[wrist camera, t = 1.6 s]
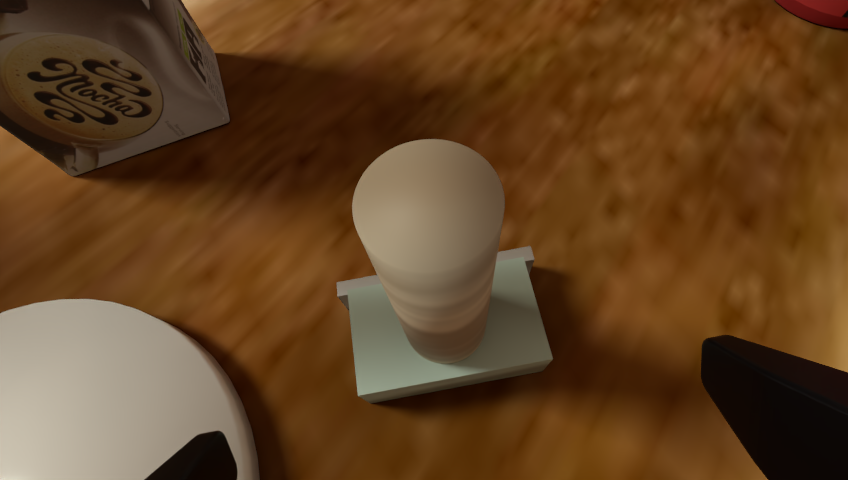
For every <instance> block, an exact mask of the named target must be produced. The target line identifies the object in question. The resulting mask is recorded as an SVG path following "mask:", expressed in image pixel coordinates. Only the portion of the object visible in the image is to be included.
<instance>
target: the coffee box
mask: <svg viewBox="0 0 848 480" xmlns="http://www.w3.org/2000/svg"><path fill="white" fill-rule="evenodd" d="M229 121H230V118H229V113H228V108H227V104H226V100H225V94H224V90H223V85H222V81H221V76H220V72H219V67H218V63H217V59H216V55H215V53H214V51H213V50H212V48H211V47H210V45H209V44H208V42H207V41H206V39H205V37H204V36H203V34H202V33H201V31H200V30H199V28H198V27H197V25H196V23H195V22H194V20H193V19H192V17H191V16H190V14H189V12H188V11H187V9H186V8H185V6H184V4H183V3H182V1H181V0H0V126H1V127H3V128H4V129H5V130H7V131H8V132H10V133H11V134H13V135H14V136H15V137H17V138H18V139H20V140H21V141H23V142H24V143H26V144H27V145H28V146H30V147H31V148H33V149H34V150H35V151H37V152H38V153H40V154H41V155H43V156H44V157H46V158H47V159H48V160H50V161H51V162H53V163H54V164H55V165H57V166H58V167H59V168H61V169H62V170H63V171H65V172H66V173H67V174H69V175H70V176H76V175H79V174H82V173H85V172H88V171H91V170H94V169H96V168H99V167H102V166H105V165H108V164H111V163H114V162H117V161H120V160H122V159H125V158H128V157H131V156H134V155H137V154H140V153H143V152H146V151H148V150H151V149H154V148H157V147H160V146H163V145H166V144H169V143H171V142H174V141H177V140H180V139H183V138H186V137H189V136H191V135H194V134H197V133H200V132H203V131H206V130H209V129H212V128H215V127H218V126H220V125H223V124H226V123H229Z"/></svg>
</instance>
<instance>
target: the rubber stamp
mask: <svg viewBox="0 0 848 480" xmlns="http://www.w3.org/2000/svg"><path fill="white" fill-rule="evenodd" d="M504 206H505V200H504V192H503V187H502V184H501V181H500V179H499V177H498V175H497V173H496V171H495V170H494V169H493V167H492V166H491V165H490V163H489V162H488V161H487V160H486V159H485V158H484V157H482V156H481V155H480V154H478V153H477V152H475V151H474V150H472V149H470V148H469V147H466V146H464V145H462V144H459V143H456V142H452V141H447V140H440V139H423V140H415V141H411V142H407V143H404V144H401V145H398V146H396V147H394V148H392V149H390V150H388V151H387V152H385V153H384V154H382V155H381V156H379V157H378V158H377V159H376V160H375V161H374V162H373V163H372V164H371V165H370V166H369V167H368V168H367V169H366V171H365V172H364V173H363V175H362V176H361V178H360V180H359V182H358V184H357V187H356V189H355V193H354V197H353V204H352V212H353V219H354V224H355V227H356V230H357V232H358V234H359V237H360V239H361V241H362V243H363V245H364V247H365V249H366V251H367V254H368V256H369V258H370V260H371V262H372V264H373V266H374V268H375V271H376V273H377V275H374V276H369V277H364V278H358V279H353V280H348V281H342V282H337V293H338V297H339V299H340V300H341V301H342V303H343V304H344V305H345V306H346V308H347V309H348V310H349V312H350V322H351V332H352V341H353V351H354V361H355V371H356V381H357V390H358V396H359V397H361V398H363V399H364V400H366V401H368V402H369V403H376V402H381V401H387V400H392V399H397V398H403V397H408V396H413V395H419V394H424V393H429V392H435V391H440V390H445V389H450V388H456V387H461V386H466V385H472V384H477V383H482V382H488V381H493V380H498V379H503V378H509V377H514V376H519V375H525V374H530V373H535V372H541V371H543V370H544V369H545V368H546V366H547V365H548V364H549V363H550V362H551V361H552V360H553V357H552V354H551V350H550V347H549V343H548V340H547V336H546V333H545V329H544V326H543V322H542V319H541V316H540V312H539V309H538V305H537V302H536V298H535V295H534V291H533V288H532V284H531V281H530V277H529V273H530V271H531V268H532V265H533V262H534V257H533V253H532V250H531V247H530V246H528V247H523V248H518V249H512V250H507V251H502V252H498V247H499V240H500V234H501V228H502V221H503V215H504Z"/></svg>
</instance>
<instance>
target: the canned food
mask: <svg viewBox="0 0 848 480" xmlns="http://www.w3.org/2000/svg"><path fill="white" fill-rule="evenodd" d="M775 1H776V2H777V3H778V4H779V5H781V6H782V7H783V8H784V9H786V10H787V11H789V12H791V13H792V14H794V15H796V16H798V17H800V18H802V19H805V20H807V21H809V22H812V23H816V24H819V25H823V26H827V27H833V28H840V29H848V0H775Z"/></svg>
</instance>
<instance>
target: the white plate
mask: <svg viewBox="0 0 848 480" xmlns="http://www.w3.org/2000/svg"><path fill="white" fill-rule="evenodd" d="M217 430H218V431H221V432H223V433H224V435H225V437H226V439H227V441H228V444H229V446H230V449H231V451H232V454H233V456H234V459H235V461H236V464H237V471H238V474H237V480H260V476H259V465H258V456H257V452H256V447H255V442H254V438H253V433H252V428H251V425H250V423H249V420H248V417H247V414H246V412H245V409H244V406H243V403H242V401H241V399H240V397H239V395H238V393H237V391H236V389H235V388H234V386H233V384H232V382H231V380H230V378H229V377H228V375H227V374H226V373H225V371H224V370H223V369H222V367H221V366H220V365H219V363H218V362H217V361H216V359H215V358H214V357H213V356H212V355H211V354H210V353H209V352H208V351H207V350H206V349H205V348H204V347H202V346H201V345H200V344H199V343H198V342H197V341H196V340H194V339H193V338H192V337H190V336H189V335H187V334H186V333H184V332H183V331H181V330H180V329H178V328H177V327H174V326H172V325H170V324H168V323H166V322H164V321H161V320H159V319H157V318H155V317H153V316H151V315H148V314H146V313H144V312H142V311H140V310H138V309H135V308H132V307H128V306H125V305H121V304H118V303H114V302H108V301H100V300H92V299H60V300H53V301H46V302H39V303H34V304H30V305H26V306H22V307H18V308H15V309H11V310H7V311H5V312H2V313H0V480H144V479H145V478H147V477H148V476H149V475H150V474H151V473H153V472H154V471H155V470H156V469H157V468H158V467H160V466H161V465H162V464H163V463H164V462H166V461H167V460H168V459H169V458H170V457H171V456H173V455H174V454H175V453H176V452H177V451H179V450H180V449H181V448H182V447H183V446H184V445H186V444H187V443H188V442H189V441H190V440H192V439H193V438H194V437H195V436H196V435H198V434H201V433H206V432H211V431H217Z"/></svg>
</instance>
